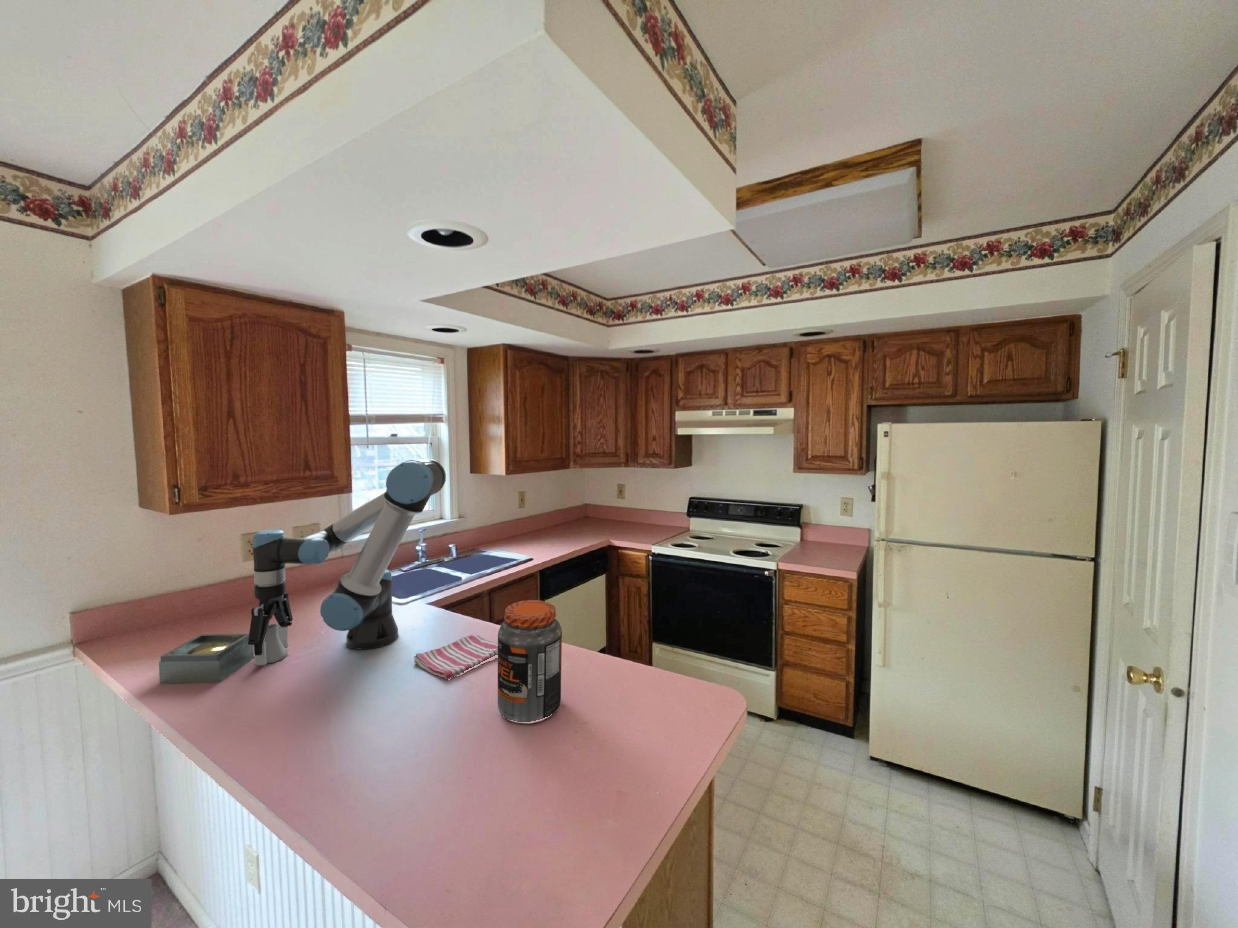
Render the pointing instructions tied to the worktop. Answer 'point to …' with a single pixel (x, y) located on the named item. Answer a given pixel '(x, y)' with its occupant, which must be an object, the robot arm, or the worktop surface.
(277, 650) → the flask
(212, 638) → the grey boxy piece
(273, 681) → the worktop surface
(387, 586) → the robot arm
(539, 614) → the supplement tub
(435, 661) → the dish towel
